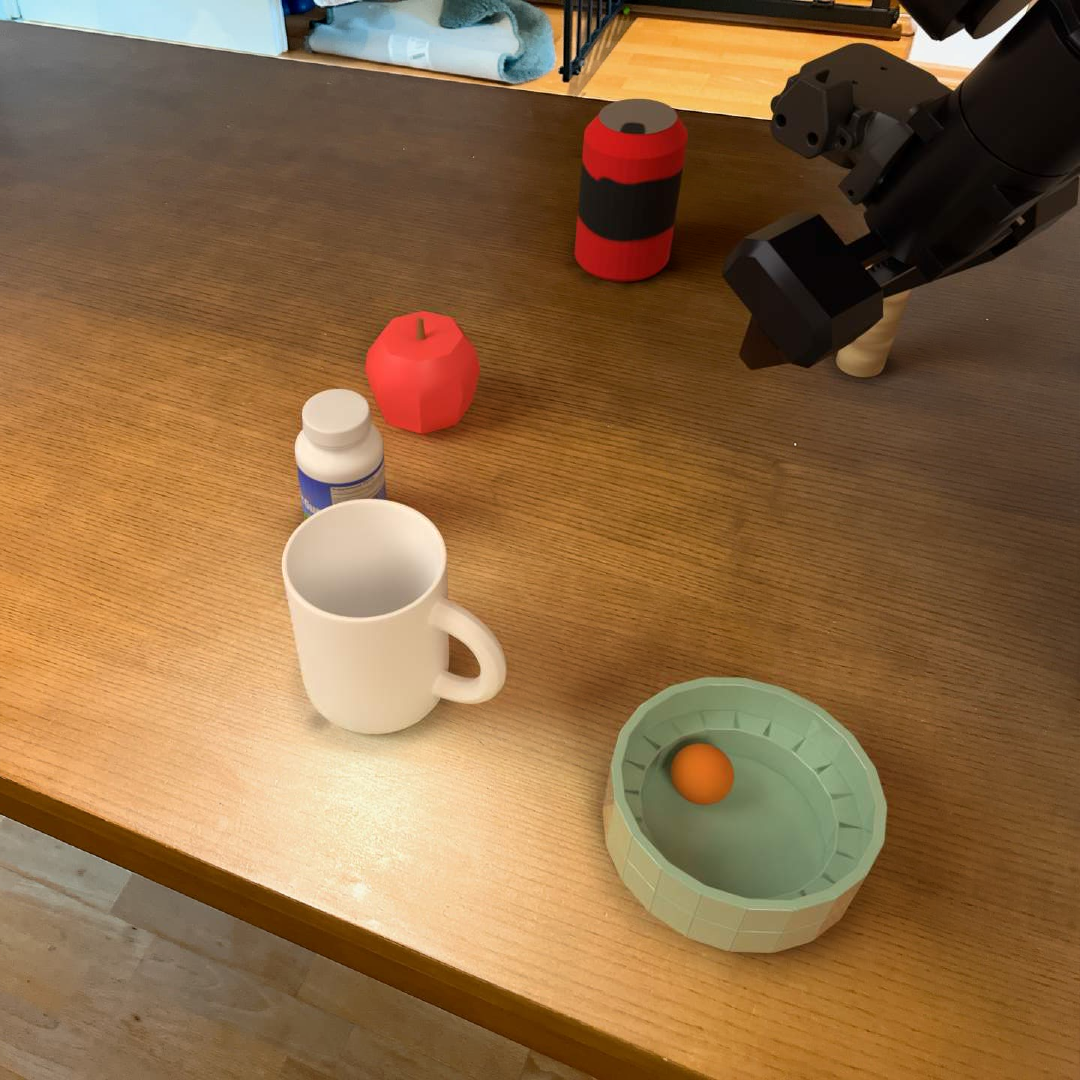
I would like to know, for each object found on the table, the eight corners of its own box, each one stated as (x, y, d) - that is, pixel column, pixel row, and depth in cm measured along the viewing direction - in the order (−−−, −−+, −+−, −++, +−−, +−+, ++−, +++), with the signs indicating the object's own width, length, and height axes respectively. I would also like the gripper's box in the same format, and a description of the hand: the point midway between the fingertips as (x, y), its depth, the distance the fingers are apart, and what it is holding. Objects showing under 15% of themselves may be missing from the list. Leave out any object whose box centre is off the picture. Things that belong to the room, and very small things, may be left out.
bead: (732, 773, 55) (743, 741, 52) (723, 824, 53) (734, 792, 50) (673, 756, 55) (681, 724, 53) (661, 805, 54) (669, 774, 51)
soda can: (567, 278, 86) (577, 136, 78) (582, 229, 91) (594, 90, 82) (663, 288, 84) (685, 144, 76) (673, 237, 89) (695, 96, 80)
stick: (884, 354, 77) (943, 187, 67) (881, 381, 75) (941, 213, 65) (837, 346, 78) (888, 181, 68) (833, 373, 76) (885, 207, 66)
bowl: (866, 770, 55) (895, 715, 51) (844, 995, 47) (876, 950, 44) (630, 706, 58) (641, 651, 55) (576, 906, 51) (585, 857, 47)
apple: (345, 412, 77) (335, 319, 71) (427, 363, 80) (424, 270, 74) (420, 466, 73) (415, 372, 67) (503, 412, 76) (506, 318, 70)
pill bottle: (295, 510, 71) (275, 395, 63) (371, 486, 72) (360, 370, 64) (322, 566, 67) (304, 451, 60) (402, 540, 68) (394, 423, 61)
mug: (534, 679, 60) (544, 555, 52) (466, 794, 55) (466, 677, 48) (352, 602, 65) (337, 479, 57) (276, 702, 60) (248, 582, 53)
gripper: (1030, -77, 48) (828, 160, 63) (739, 45, 42) (588, 277, 56) (1204, 103, 46) (953, 306, 60) (923, 261, 40) (717, 447, 54)
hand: (806, 328), depth 58 cm, fingers open, 9 cm apart
